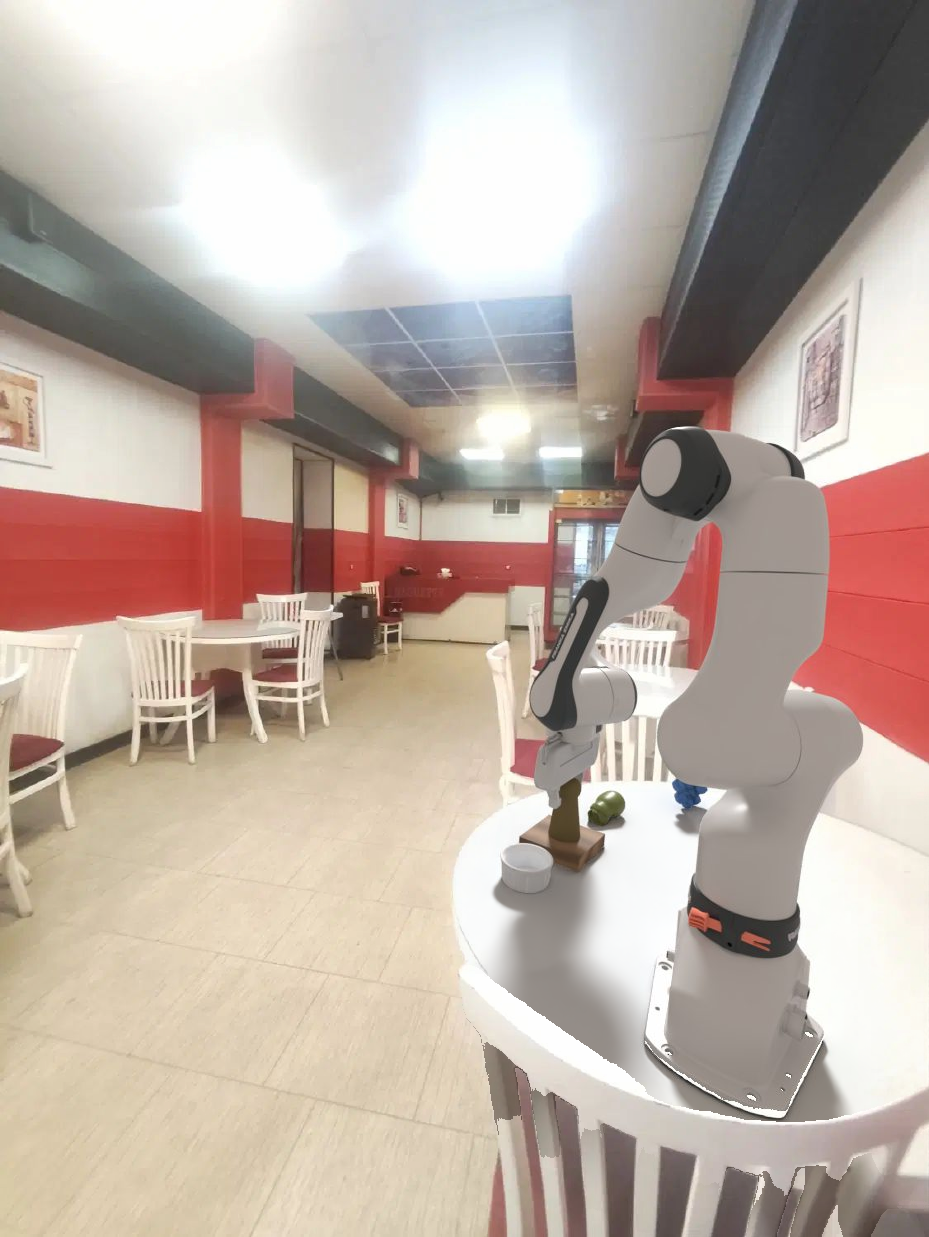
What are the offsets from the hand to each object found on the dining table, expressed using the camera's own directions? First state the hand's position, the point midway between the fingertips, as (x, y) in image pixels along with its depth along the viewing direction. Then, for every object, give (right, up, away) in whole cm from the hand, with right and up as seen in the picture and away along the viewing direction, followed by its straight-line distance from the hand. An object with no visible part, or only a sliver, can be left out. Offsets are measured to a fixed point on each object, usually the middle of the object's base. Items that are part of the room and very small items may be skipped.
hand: (565, 799), depth 102 cm
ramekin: (-9, -11, -10) cm, 17 cm away
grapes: (+32, -10, +20) cm, 39 cm away
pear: (+11, -9, +15) cm, 21 cm away
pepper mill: (0, -7, +1) cm, 7 cm away
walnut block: (0, -10, +1) cm, 10 cm away
